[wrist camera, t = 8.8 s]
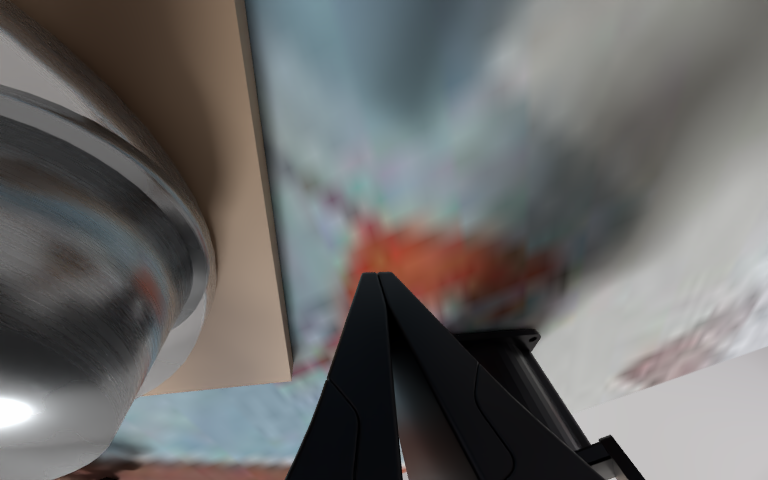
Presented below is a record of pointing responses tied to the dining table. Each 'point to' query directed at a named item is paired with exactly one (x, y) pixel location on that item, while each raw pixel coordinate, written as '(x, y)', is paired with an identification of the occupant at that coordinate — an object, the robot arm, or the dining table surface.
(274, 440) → the dining table surface
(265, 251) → the base board
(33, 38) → the turntable
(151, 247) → the cover
